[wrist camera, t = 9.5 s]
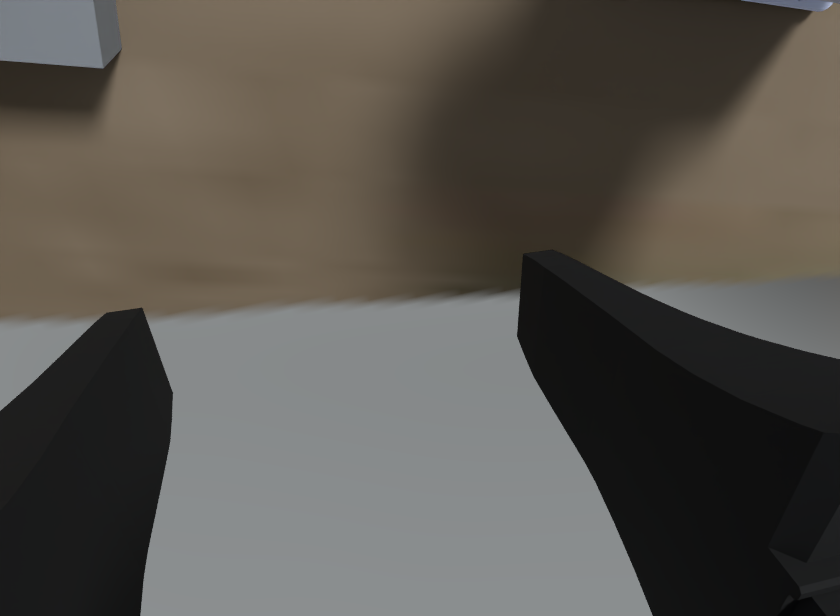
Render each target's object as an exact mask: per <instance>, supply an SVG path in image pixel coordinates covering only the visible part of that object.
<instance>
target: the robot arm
mask: <svg viewBox="0 0 840 616" xmlns="http://www.w3.org/2000/svg"><path fill="white" fill-rule="evenodd" d="M743 1H750V2H757V3H763V4H770V5H777V6H784V7H790V8H797V9H804V10H811V11H817V12H819V11H824V10H826V9H827V8H829V7H830V6H831V5H832V4H833V3H838V4H840V0H743ZM517 337H518V340H519V342H520V345H521V348H522V350H523V353H524V355H525V358H526V360H527V362H528V364H529V367H530V369H531V372H532V374H533V376H534V378H535V380H536V381H537V383H538V385H539V387H540V388H541V390H542V392H543V393H544V395H545V397H546V399H547V400H548V402H549V403H550V405H551V407H552V409H553V410H554V412H555V414H556V415H557V417H558V419H559V420H560V422H561V424H562V425H563V427H564V429H565V430H566V432H567V434H568V435H569V437H570V438H571V440H572V442H573V443H574V445H575V447H576V448H577V450H578V452H579V453H580V455H581V457H582V458H583V460H584V462H585V464H586V465H587V467H588V469H589V471H590V473H591V475H592V476H593V478H594V480H595V482H596V484H597V486H598V489H599V491H600V493H601V495H602V497H603V499H604V502H605V504H606V506H607V508H608V510H609V512H610V515H611V517H612V519H613V521H614V523H615V526H616V528H617V530H618V532H619V535H620V537H621V539H622V541H623V544H624V546H625V549H626V551H627V554H628V556H629V558H630V561H631V563H632V565H633V567H634V570H635V572H636V574H637V577H638V580H639V582H640V585H641V587H642V590H643V592H644V595H645V597H646V600H647V602H648V605H649V607H650V610H651V612H652V615H653V616H840V359H836V358H831V357H827V356H822V355H818V354H814V353H809V352H805V351H802V350H798V349H794V348H791V347H787V346H783V345H780V344H776V343H772V342H769V341H765V340H761V339H758V338H755V337H752V336H748V335H745V334H742V333H739V332H736V331H733V330H731V329H728V328H725V327H722V326H719V325H716V324H714V323H711V322H708V321H705V320H703V319H700V318H697V317H695V316H692V315H690V314H687V313H685V312H683V311H680V310H678V309H676V308H673V307H671V306H669V305H666V304H664V303H662V302H660V301H657V300H655V299H653V298H651V297H649V296H647V295H644V294H642V293H640V292H638V291H636V290H634V289H632V288H630V287H628V286H626V285H624V284H622V283H620V282H618V281H616V280H614V279H612V278H610V277H608V276H606V275H604V274H602V273H600V272H598V271H596V270H594V269H592V268H590V267H588V266H587V265H585V264H583V263H581V262H579V261H577V260H575V259H573V258H570V257H568V256H566V255H564V254H562V253H559V252H557V251H554V250H546V251H539V252H532V253H525V254H523V263H522V276H521V290H520V304H519V317H518V332H517ZM172 400H173V392H172V389H171V387H170V384H169V381H168V378H167V376H166V373H165V370H164V367H163V365H162V362H161V359H160V356H159V353H158V350H157V348H156V345H155V342H154V339H153V336H152V334H151V331H150V328H149V325H148V322H147V320H146V317H145V314H144V311H143V308H137V309H130V310H123V311H116V312H109V313H106V314H104V315H103V316H102V317H101V318H100V319H99V320H97V321H96V322H95V323H94V324H93V325H92V326H91V327H90V328H89V329H88V330H87V331H86V332H85V333H84V334H83V335H82V336H81V337H80V338H79V339H78V340H76V341H75V342H74V344H72V345H71V346H70V347H69V348H68V349H67V350H66V351H65V352H64V353H63V354H62V355H61V356H60V357H59V358H58V359H57V360H56V361H55V362H54V363H53V364H52V365H51V366H50V367H49V368H48V369H46V370H45V371H44V372H43V373H42V374H41V375H40V376H39V377H38V378H37V379H36V380H35V381H34V382H33V383H32V384H31V385H30V386H28V387H27V388H26V389H25V390H24V391H23V392H22V393H21V394H19V395H18V396H17V397H16V398H15V399H14V400H12V401H11V402H10V403H9V404H8V405H7V406H6V407H4V408H3V409H2V410H1V411H0V616H140V612H141V601H142V590H143V579H144V572H145V565H146V559H147V553H148V547H149V543H150V538H151V533H152V528H153V523H154V519H155V514H156V509H157V504H158V499H159V495H160V490H161V485H162V480H163V475H164V470H165V465H166V460H167V455H168V450H169V445H170V436H171V422H172Z"/></svg>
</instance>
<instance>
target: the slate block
mask: <svg viewBox="0 0 840 616" xmlns="http://www.w3.org/2000/svg"><path fill="white" fill-rule="evenodd" d="M121 49H122V47H121V39H120V31H119V24H118V16H117V8H116V0H0V60H2V61H15V62H28V63H41V64H53V65H66V66H79V67H91V68H104V67H105V66H106V65H107V64H108V63H109V62H110V61H111V60H112V59H113V58H114V56H115V55H116V54H117V53H118V52H119V51H120V50H121Z"/></svg>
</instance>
